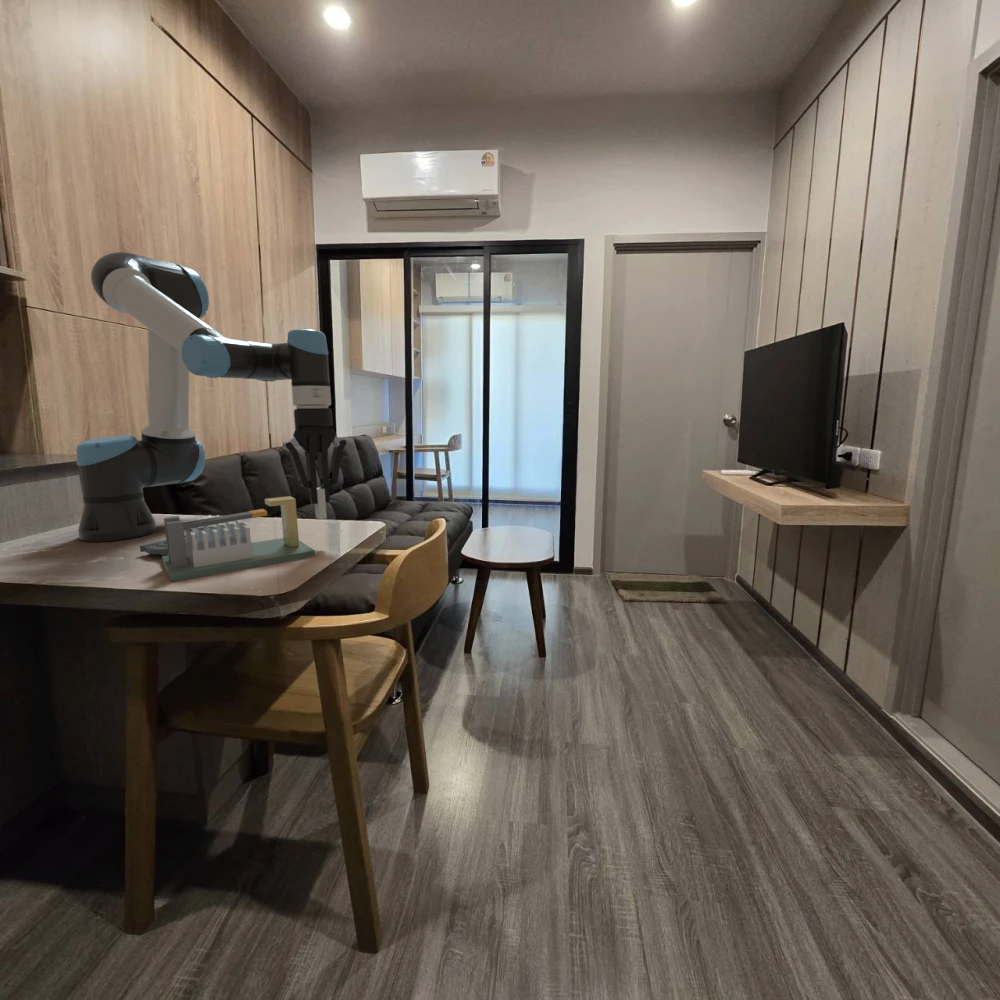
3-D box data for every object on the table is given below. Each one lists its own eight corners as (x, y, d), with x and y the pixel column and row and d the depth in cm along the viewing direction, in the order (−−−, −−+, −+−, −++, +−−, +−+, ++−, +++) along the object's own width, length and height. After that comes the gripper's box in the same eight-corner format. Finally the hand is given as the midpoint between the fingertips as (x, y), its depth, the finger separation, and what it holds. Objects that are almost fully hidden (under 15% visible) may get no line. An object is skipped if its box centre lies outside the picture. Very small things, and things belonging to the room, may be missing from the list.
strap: (169, 530, 97) (167, 523, 97) (263, 514, 107) (262, 507, 106) (171, 533, 94) (169, 526, 94) (267, 516, 104) (266, 509, 104)
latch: (268, 545, 108) (264, 498, 107) (293, 542, 111) (289, 496, 110) (273, 549, 105) (269, 501, 104) (299, 545, 108) (295, 498, 107)
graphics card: (205, 524, 122) (239, 528, 116) (208, 540, 122) (241, 544, 117) (128, 541, 107) (162, 546, 102) (131, 559, 108) (165, 565, 102)
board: (162, 562, 102) (156, 514, 100) (293, 541, 117) (290, 500, 115) (170, 581, 90) (164, 528, 88) (315, 556, 105) (312, 510, 103)
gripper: (285, 407, 101) (295, 525, 105) (349, 406, 109) (356, 516, 113) (275, 408, 107) (285, 519, 111) (336, 407, 115) (344, 511, 119)
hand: (321, 517), depth 112 cm, fingers closed
